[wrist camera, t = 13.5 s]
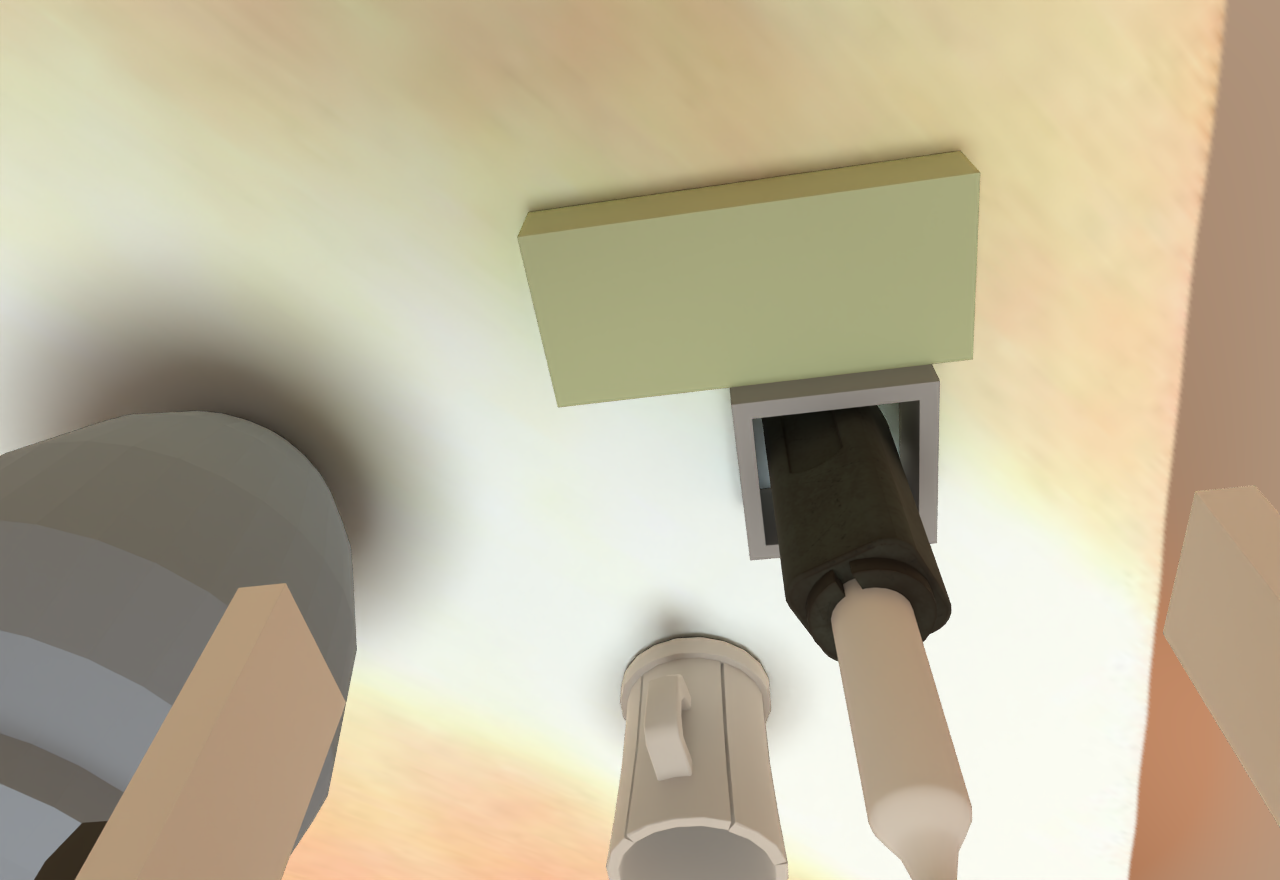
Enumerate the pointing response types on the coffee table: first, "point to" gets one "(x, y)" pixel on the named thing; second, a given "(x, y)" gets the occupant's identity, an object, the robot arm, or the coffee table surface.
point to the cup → (696, 768)
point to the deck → (769, 302)
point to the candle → (872, 619)
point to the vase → (142, 599)
